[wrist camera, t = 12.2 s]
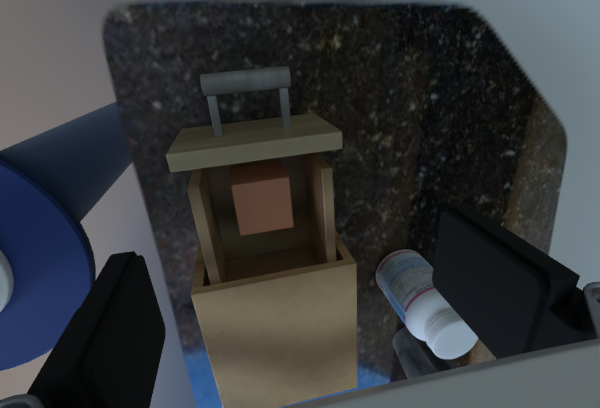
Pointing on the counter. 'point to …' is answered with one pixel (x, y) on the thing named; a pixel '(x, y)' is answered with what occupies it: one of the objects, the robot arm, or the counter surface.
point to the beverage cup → (417, 355)
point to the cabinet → (280, 332)
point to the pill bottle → (423, 304)
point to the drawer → (254, 150)
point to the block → (261, 197)
